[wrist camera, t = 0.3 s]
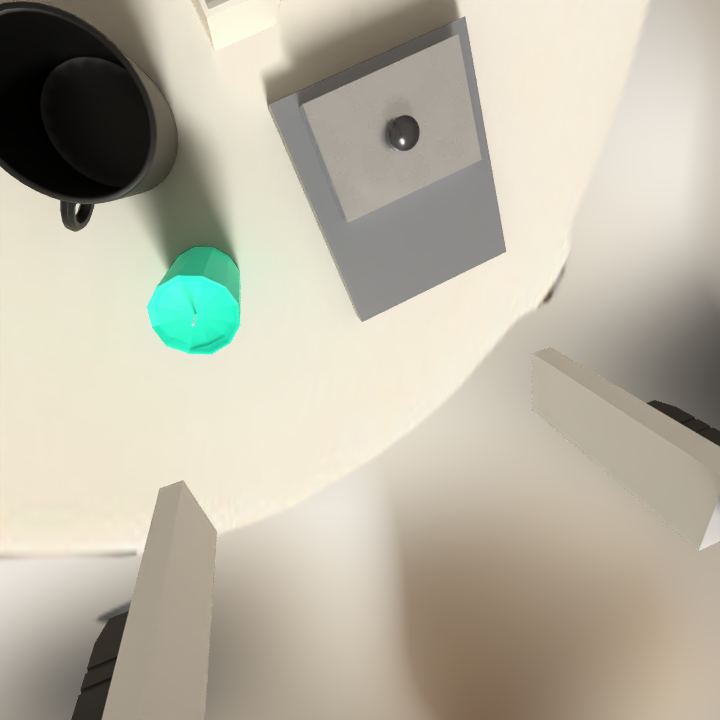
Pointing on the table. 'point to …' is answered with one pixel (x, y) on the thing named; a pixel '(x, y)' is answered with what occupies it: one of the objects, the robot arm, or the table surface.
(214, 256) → the candle
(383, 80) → the panel
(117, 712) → the robot arm
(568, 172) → the table surface
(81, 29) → the mug
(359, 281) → the grey flat frame
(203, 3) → the plug
